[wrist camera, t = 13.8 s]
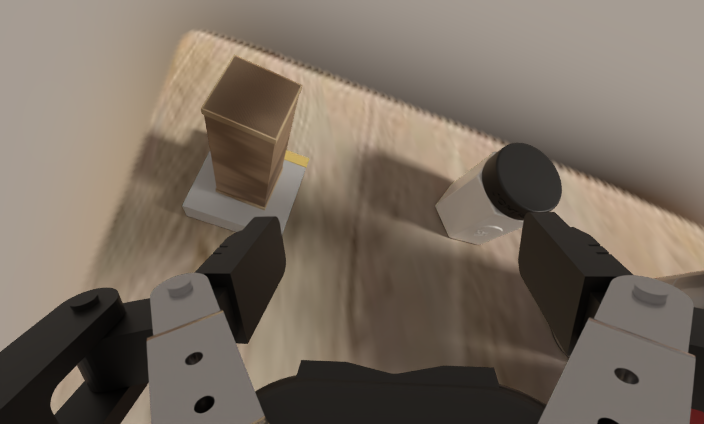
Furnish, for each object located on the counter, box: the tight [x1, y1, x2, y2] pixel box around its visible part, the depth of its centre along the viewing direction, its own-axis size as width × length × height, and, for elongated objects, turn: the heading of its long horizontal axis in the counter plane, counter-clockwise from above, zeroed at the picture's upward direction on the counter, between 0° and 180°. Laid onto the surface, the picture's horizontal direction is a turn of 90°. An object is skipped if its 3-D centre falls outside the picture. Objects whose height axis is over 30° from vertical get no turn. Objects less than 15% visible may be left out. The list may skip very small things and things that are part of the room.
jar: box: [435, 143, 562, 245], centre depth 42 cm, size 9×8×12 cm
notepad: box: [182, 150, 309, 234], centre depth 38 cm, size 10×10×3 cm
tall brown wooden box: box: [201, 55, 302, 211], centre depth 31 cm, size 5×5×14 cm
